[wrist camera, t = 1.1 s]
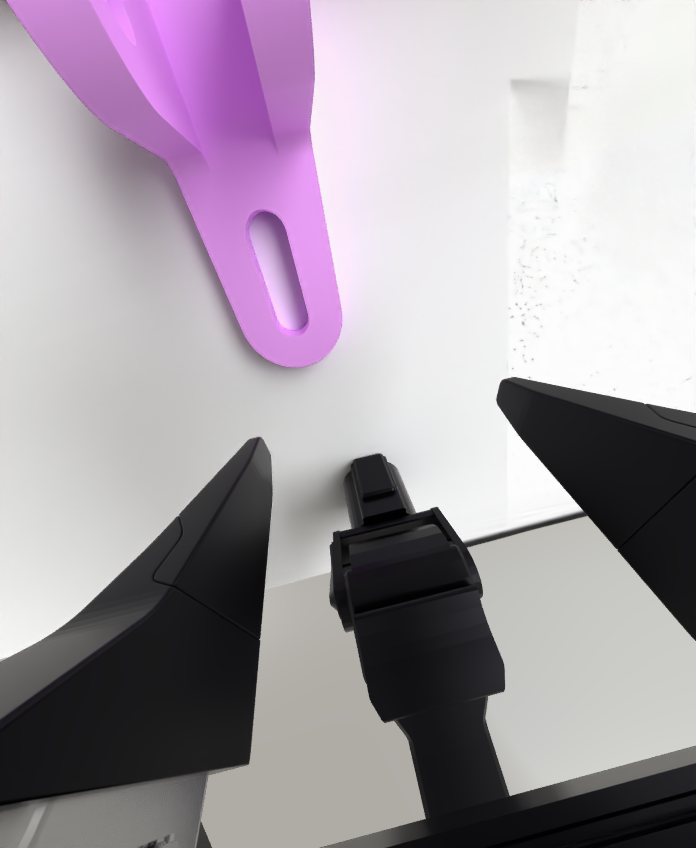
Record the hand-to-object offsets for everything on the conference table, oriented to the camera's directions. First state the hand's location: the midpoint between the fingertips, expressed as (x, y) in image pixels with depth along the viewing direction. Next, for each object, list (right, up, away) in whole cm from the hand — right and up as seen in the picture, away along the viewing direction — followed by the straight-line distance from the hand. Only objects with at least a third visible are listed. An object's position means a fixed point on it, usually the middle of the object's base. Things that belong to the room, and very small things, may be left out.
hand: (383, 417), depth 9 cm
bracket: (-5, +9, +3) cm, 11 cm away
